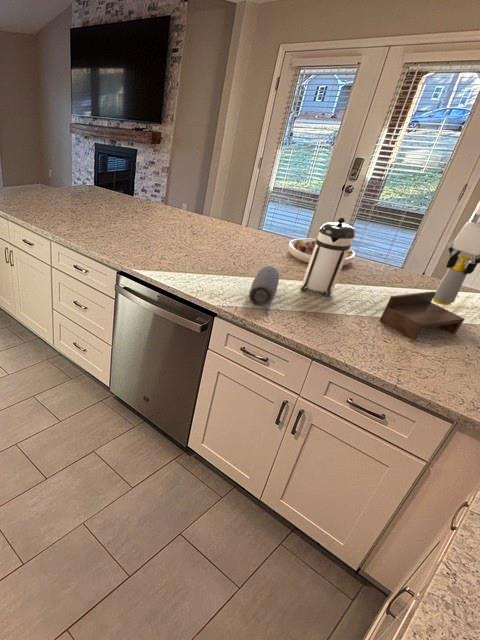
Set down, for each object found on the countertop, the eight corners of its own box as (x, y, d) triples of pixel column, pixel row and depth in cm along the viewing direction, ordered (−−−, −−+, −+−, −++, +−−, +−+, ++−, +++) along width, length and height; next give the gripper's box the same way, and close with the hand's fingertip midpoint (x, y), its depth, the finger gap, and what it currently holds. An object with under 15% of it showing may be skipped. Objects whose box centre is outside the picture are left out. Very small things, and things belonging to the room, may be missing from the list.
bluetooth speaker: (253, 285, 175) (259, 262, 169) (276, 290, 172) (283, 267, 166) (244, 306, 158) (250, 282, 152) (269, 312, 154) (277, 287, 149)
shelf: (456, 333, 146) (471, 308, 141) (413, 339, 141) (427, 314, 136) (420, 315, 157) (433, 291, 152) (379, 320, 152) (391, 295, 147)
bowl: (302, 243, 225) (306, 229, 220) (360, 259, 207) (366, 244, 202) (275, 255, 207) (280, 240, 203) (336, 274, 189) (343, 257, 185)
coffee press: (345, 297, 169) (376, 223, 152) (310, 298, 166) (337, 223, 150) (320, 279, 183) (345, 210, 166) (287, 281, 180) (309, 211, 164)
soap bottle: (453, 307, 153) (478, 261, 144) (430, 302, 156) (454, 257, 147) (452, 301, 158) (476, 256, 148) (430, 296, 161) (452, 252, 152)
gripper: (520, 226, 135) (490, 278, 144) (467, 213, 149) (443, 261, 158) (504, 227, 133) (474, 280, 143) (452, 214, 147) (428, 262, 156)
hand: (458, 269), depth 150 cm, fingers closed on soap bottle, 5 cm apart
